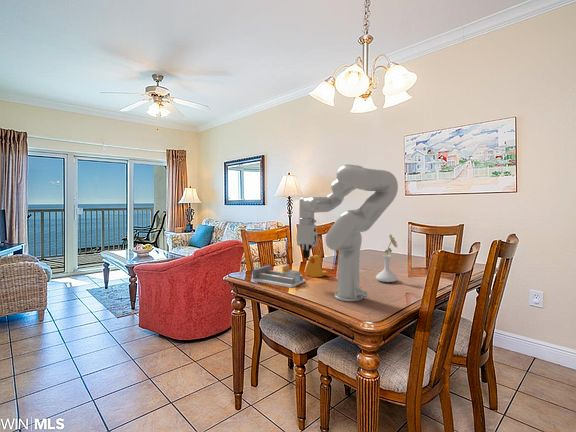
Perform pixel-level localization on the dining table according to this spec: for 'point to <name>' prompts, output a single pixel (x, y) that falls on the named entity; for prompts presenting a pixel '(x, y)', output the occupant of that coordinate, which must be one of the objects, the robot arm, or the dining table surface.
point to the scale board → (274, 277)
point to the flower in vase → (387, 266)
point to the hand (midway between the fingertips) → (306, 257)
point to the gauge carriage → (290, 273)
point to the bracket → (315, 267)
